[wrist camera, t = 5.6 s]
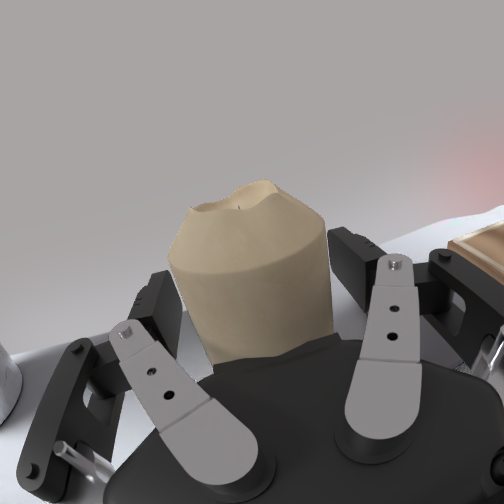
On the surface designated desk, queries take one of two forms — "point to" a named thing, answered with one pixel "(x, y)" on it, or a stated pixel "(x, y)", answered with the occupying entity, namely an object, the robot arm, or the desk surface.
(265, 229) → the candle
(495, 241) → the board
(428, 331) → the pad
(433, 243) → the desk surface
